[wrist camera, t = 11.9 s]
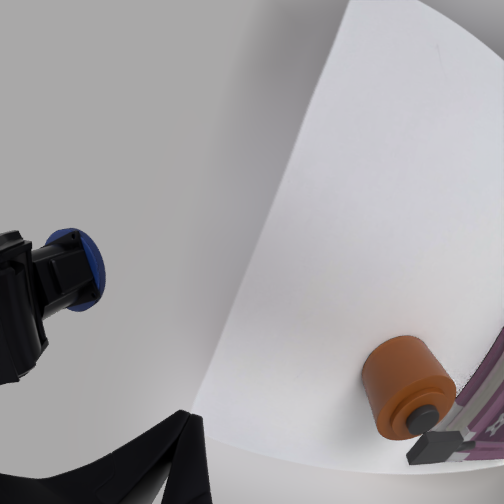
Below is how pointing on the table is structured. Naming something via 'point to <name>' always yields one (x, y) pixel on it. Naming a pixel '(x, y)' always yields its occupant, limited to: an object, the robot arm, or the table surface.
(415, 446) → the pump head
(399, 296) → the table surface
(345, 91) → the table surface
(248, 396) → the table surface
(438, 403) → the soap bottle
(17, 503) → the robot arm
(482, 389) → the book
